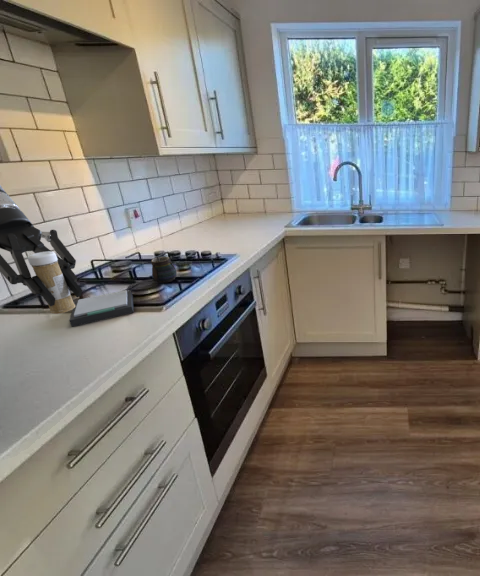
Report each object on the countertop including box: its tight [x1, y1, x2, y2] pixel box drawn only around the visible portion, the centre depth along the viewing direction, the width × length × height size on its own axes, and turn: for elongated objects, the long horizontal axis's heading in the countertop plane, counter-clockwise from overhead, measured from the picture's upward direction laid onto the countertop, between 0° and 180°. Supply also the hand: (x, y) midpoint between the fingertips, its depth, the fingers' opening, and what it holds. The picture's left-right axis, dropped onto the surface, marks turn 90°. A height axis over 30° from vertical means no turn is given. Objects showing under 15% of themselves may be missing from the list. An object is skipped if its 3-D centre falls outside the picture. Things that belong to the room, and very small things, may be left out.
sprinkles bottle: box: [26, 250, 76, 315], centre depth 80 cm, size 5×5×13 cm
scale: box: [68, 289, 134, 328], centre depth 105 cm, size 14×14×3 cm
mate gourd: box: [150, 256, 177, 284], centre depth 123 cm, size 7×8×10 cm
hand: (66, 297), depth 80 cm, fingers closed on sprinkles bottle, 4 cm apart
